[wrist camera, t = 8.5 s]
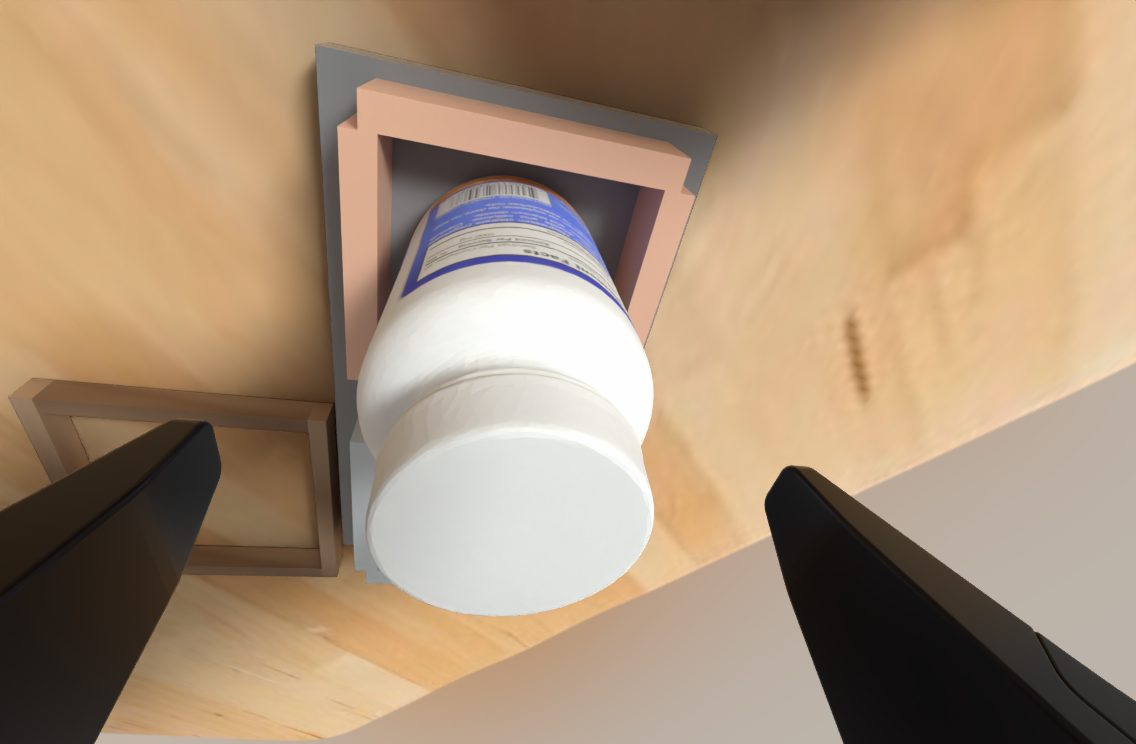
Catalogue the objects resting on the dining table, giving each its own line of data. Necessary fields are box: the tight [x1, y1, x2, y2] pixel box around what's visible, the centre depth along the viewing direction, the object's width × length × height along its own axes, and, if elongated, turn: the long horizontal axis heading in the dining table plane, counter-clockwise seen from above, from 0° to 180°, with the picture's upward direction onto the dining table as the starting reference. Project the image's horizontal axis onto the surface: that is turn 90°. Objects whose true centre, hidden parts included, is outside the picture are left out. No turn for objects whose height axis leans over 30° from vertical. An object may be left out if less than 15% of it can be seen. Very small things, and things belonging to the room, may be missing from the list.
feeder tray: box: [9, 378, 342, 577], centre depth 20 cm, size 9×9×1 cm
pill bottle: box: [356, 175, 654, 616], centre depth 11 cm, size 5×5×10 cm
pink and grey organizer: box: [315, 43, 717, 584], centre depth 17 cm, size 18×10×3 cm, turn 168°
